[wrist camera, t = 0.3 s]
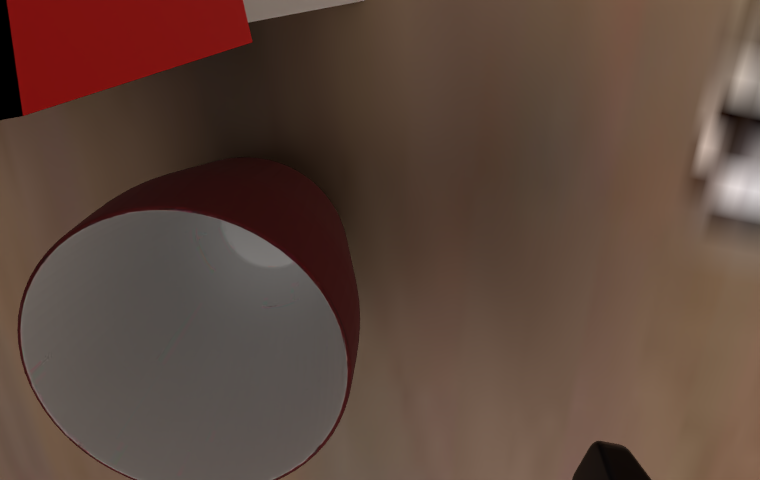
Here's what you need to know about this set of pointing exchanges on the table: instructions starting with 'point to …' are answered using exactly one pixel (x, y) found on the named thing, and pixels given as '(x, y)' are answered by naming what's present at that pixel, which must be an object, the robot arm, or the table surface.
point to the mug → (197, 325)
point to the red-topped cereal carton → (116, 42)
